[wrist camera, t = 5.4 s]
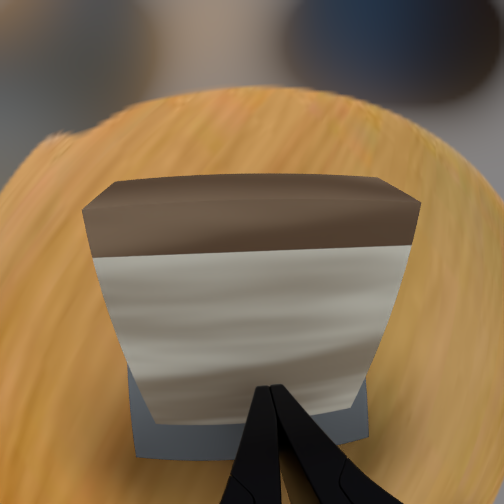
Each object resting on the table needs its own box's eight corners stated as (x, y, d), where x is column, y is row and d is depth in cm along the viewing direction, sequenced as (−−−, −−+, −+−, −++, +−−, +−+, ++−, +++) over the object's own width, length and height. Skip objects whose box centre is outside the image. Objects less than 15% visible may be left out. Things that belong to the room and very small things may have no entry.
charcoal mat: (365, 435, 15) (368, 436, 14) (138, 454, 13) (136, 457, 13) (329, 182, 21) (331, 178, 21) (139, 187, 20) (137, 183, 19)
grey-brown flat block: (350, 407, 13) (421, 202, 8) (156, 424, 12) (81, 209, 7) (334, 367, 16) (377, 177, 11) (161, 379, 15) (115, 181, 10)
